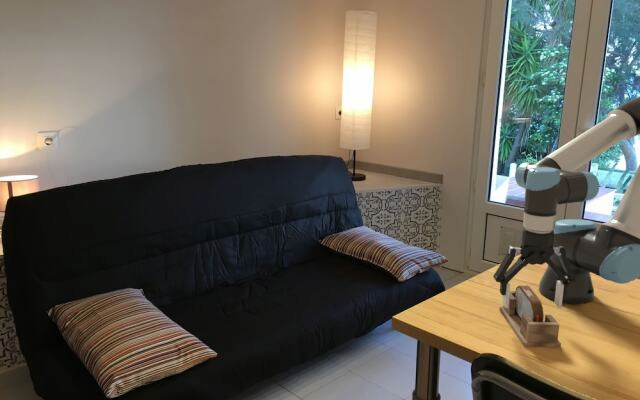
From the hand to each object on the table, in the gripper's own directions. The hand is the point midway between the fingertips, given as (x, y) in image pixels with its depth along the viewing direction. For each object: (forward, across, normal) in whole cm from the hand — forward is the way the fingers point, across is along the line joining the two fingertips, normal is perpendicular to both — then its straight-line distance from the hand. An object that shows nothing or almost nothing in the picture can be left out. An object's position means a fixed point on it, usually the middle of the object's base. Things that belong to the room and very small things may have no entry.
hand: (531, 305), depth 136 cm
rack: (+6, +1, 0) cm, 6 cm away
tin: (+5, +1, -1) cm, 5 cm away
